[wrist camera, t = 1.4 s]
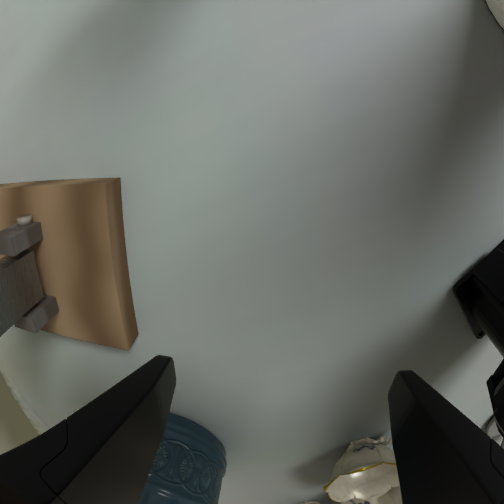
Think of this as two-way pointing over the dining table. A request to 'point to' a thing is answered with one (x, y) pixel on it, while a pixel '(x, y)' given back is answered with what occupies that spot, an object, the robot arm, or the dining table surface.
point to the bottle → (497, 10)
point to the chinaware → (365, 475)
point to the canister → (185, 466)
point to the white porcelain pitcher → (493, 430)
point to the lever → (18, 287)
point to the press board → (73, 257)
